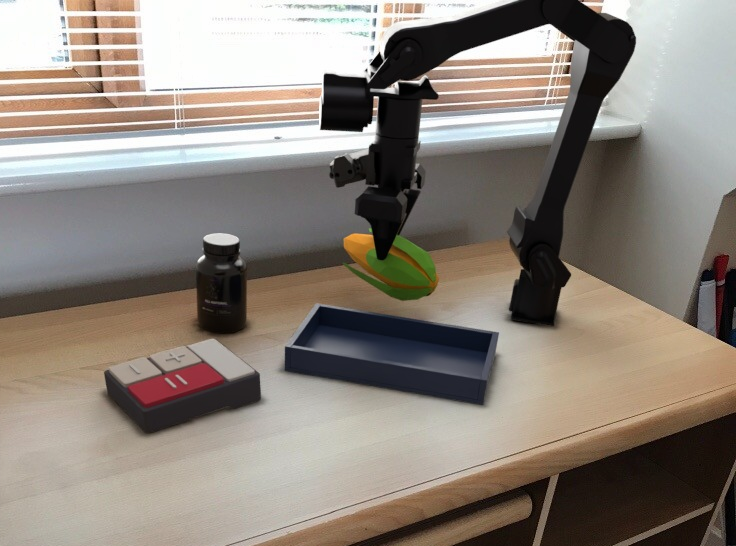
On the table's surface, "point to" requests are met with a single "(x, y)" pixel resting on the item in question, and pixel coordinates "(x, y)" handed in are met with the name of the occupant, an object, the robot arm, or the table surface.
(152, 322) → the table surface
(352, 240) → the corn
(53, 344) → the table surface
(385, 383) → the tray
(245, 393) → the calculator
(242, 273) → the supplement bottle
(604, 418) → the table surface
